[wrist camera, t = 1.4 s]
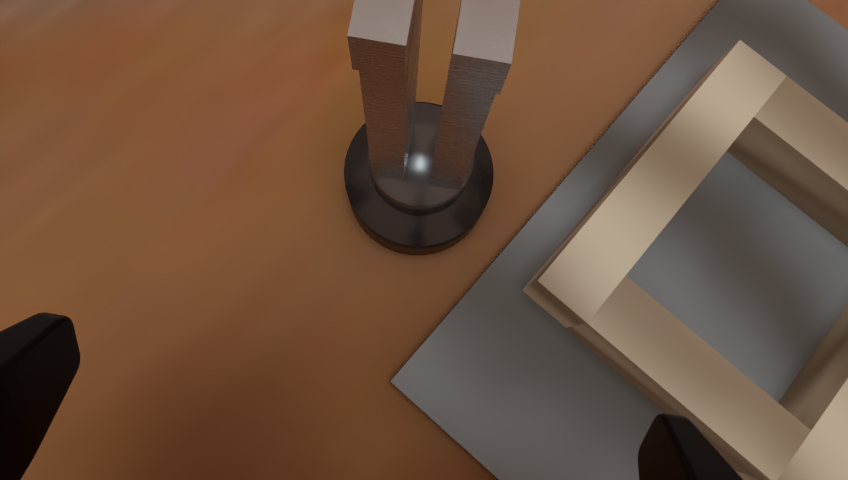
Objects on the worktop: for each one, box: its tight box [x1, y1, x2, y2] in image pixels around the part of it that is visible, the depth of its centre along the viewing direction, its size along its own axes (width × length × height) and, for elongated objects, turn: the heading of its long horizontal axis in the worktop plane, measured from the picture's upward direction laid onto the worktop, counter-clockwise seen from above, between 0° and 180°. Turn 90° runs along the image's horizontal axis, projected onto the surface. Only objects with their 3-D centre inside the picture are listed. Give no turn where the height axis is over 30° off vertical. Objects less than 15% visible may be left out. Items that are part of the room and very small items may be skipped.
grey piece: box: [344, 0, 520, 255], centre depth 17 cm, size 5×5×13 cm
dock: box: [390, 0, 848, 480], centre depth 21 cm, size 22×14×4 cm, turn 139°
